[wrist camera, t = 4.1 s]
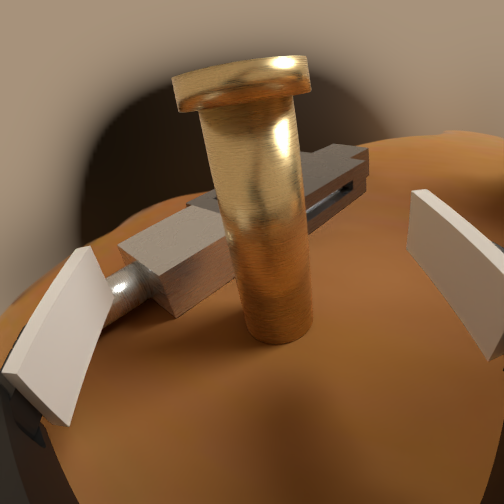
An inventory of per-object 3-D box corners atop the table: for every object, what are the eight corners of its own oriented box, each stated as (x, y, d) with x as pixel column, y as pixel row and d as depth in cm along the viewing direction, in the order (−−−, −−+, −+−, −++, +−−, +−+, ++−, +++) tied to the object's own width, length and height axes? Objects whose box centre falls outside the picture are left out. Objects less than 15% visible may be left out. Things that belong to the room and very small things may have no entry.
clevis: (323, 167, 41) (320, 142, 39) (383, 177, 35) (383, 150, 33) (70, 312, 22) (50, 278, 20) (108, 377, 16) (80, 337, 14)
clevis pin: (275, 279, 22) (241, 67, 15) (344, 309, 18) (332, 55, 11) (215, 326, 19) (148, 85, 12) (284, 371, 15) (233, 60, 8)
